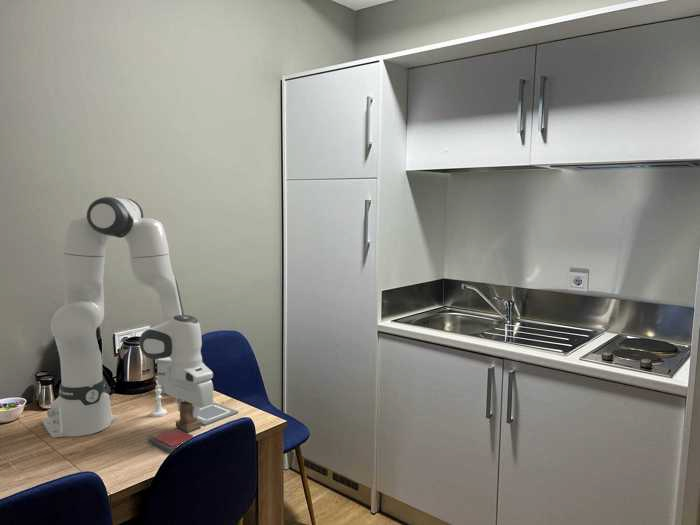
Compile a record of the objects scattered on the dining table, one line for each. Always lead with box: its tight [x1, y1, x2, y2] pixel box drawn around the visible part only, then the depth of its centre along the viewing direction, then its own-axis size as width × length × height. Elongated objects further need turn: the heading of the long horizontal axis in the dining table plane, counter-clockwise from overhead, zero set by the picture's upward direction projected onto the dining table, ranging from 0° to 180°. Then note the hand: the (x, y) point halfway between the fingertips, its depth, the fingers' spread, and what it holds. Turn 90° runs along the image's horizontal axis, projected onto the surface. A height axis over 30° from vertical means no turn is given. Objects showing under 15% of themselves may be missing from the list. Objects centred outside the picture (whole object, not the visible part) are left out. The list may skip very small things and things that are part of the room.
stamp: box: [175, 400, 203, 434], centre depth 160 cm, size 6×5×8 cm
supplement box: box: [156, 357, 171, 394], centre depth 192 cm, size 7×7×13 cm
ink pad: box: [147, 427, 194, 454], centre depth 150 cm, size 11×9×2 cm
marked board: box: [197, 401, 239, 427], centre depth 171 cm, size 13×13×1 cm
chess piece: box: [150, 383, 168, 418], centre depth 170 cm, size 5×5×10 cm
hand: (188, 414), depth 160 cm, fingers open, 5 cm apart
